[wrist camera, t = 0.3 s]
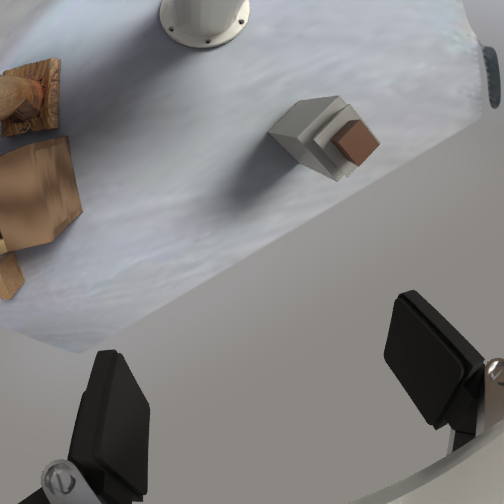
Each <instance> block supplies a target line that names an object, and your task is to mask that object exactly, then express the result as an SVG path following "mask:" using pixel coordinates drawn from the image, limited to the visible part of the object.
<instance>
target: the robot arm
mask: <svg viewBox="0 0 504 504" xmlns="http://www.w3.org/2000/svg"><path fill="white" fill-rule="evenodd" d="M250 10H251V8H250V2H249V0H163V1H162V4H161V7H160V20H161V24H162V26H163V28H164V30H165V31H166V33H167V34H168V35H169V36H170V37H171V38H172V39H174V40H175V41H177V42H178V43H181V44H183V45H185V46H189V47H194V48H211V47H215V46H219V45H222V44H224V43H227V42H229V41H230V40H232V39H234V38H235V37H236V36H237V35H239V34H240V33H241V31H242V30H243V29H244V28H245V26H246V24H247V22H248V19H249V17H250ZM239 23H242V25H240V24H239ZM172 29H173V30H174V31H172V32H171V31H170V30H172ZM207 41H209V42H210V43H209V44H206V42H207ZM384 359H385V361H386V363H387V364H388V366H389V367H390V369H391V370H392V371H393V373H394V374H395V376H396V377H397V379H398V380H399V382H400V383H401V384H402V386H403V387H404V389H405V390H406V392H407V393H408V395H409V396H410V398H411V399H412V401H413V402H414V404H415V405H416V407H417V408H418V410H419V411H420V413H421V414H422V416H423V417H424V419H425V420H426V422H427V423H428V424H429V425H433V427H434V428H435V430H437V429H439V428H441V427H443V426H444V425H446V424H447V423H449V425H450V427H451V431H450V437H449V444H448V450H447V455H446V457H444V458H442V459H441V460H439V461H438V462H436V463H434V464H432V465H430V466H429V467H427V468H425V469H423V470H421V471H419V472H417V473H415V474H414V475H412V476H410V477H408V478H406V479H404V480H401V481H399V482H398V483H395V484H393V485H391V486H388V487H386V488H384V489H382V490H379V491H377V492H375V493H372V494H370V495H367V496H365V497H362V498H360V499H357V500H354V501H352V502H349V503H346V504H504V359H502V358H494V359H491V360H490V361H489V362H487V364H486V366H485V364H484V363H483V362H484V360H485V359H484V358H483V357H482V356H481V354H480V353H479V352H478V351H477V350H476V349H475V348H474V347H473V346H472V345H471V344H470V343H469V342H468V341H467V340H466V339H465V338H464V337H463V336H462V335H461V334H460V333H459V332H458V331H457V330H456V329H455V328H454V327H453V326H452V325H451V324H450V323H449V322H448V321H447V320H446V319H445V318H444V317H443V316H442V315H441V314H440V313H439V312H438V311H437V310H436V309H435V308H434V307H433V306H432V305H431V304H429V303H428V302H427V301H426V300H425V299H424V298H423V297H422V296H421V295H420V294H419V293H418V292H417V291H415V290H411V291H407V292H404V293H401V294H399V296H398V298H397V299H396V300H395V302H394V307H393V313H392V318H391V323H390V328H389V333H388V337H387V342H386V346H385V350H384ZM149 421H150V407H149V403H148V402H147V400H146V398H145V396H144V394H143V393H142V391H141V389H140V387H139V385H138V384H137V382H136V380H135V378H134V376H133V374H132V372H131V371H130V369H129V367H128V365H127V363H126V361H125V359H124V357H123V355H122V354H121V353H117V351H116V350H104V351H98V353H97V355H96V358H95V361H94V365H93V368H92V371H91V375H90V378H89V382H88V385H87V389H86V391H85V392H84V393H83V395H82V398H81V402H80V406H79V410H78V414H77V418H76V422H75V426H74V431H73V435H72V439H71V444H70V449H69V454H68V459H67V460H63V459H58V460H54V461H52V462H50V463H49V464H48V465H46V467H45V468H44V470H43V471H42V475H41V485H42V487H41V488H40V489H38V490H37V491H36V492H34V493H33V494H31V495H30V496H29V497H27V498H26V499H24V500H23V501H21V502H20V503H18V504H132V501H135V502H143V495H146V494H147V487H148V486H147V485H148V482H147V481H148V480H147V479H148V476H147V475H148V440H149Z"/></svg>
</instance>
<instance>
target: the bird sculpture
mask: <svg viewBox="0 0 504 504" xmlns="http://www.w3.org/2000/svg"><path fill="white" fill-rule="evenodd" d="M60 64H61V60H58V59H54V58H53V59H47V60H45V61H44V60H43V61H40V62H36V63H33V64H32V63H31V64H29V65H24V66H21V67H18V69H17V68H14V69H11V70H7V71H4V72H3V75H0V121H2V122H1V123H2V125H1V126H2V138H3V137H6V136H11V135H15V134H16V135H17V134H22V133H26V132H28V131H27V130H28V129H29V128H31V126H32V128H31V129H33V130H31V131H35V130H36V131H40V130H42V129H43V130H47V129H52V128H58V127H59V126H58V122H59V121H58V119H59V117H58V115H59V113H58V112H59V106H58V105H59V101H58V100H59V83H60V79H59V78H60ZM31 70H32V71H31ZM31 72H32V74H31ZM11 73H12V74H11ZM27 75H28V76H27ZM31 75H32V77H30V76H31ZM42 77H44V78H42ZM40 79H42V80H43V81H40ZM38 81H39V82H38ZM42 86H44V87H45V88H42ZM44 98H45V100H44ZM43 100H44V102H43ZM42 102H43V103H44V105H43V103H42ZM37 113H38V115H36V114H37ZM35 115H36V116H35ZM36 118H37V120H36ZM27 120H28V121H27ZM30 121H31V122H30ZM27 122H28V123H27ZM29 122H30V123H29ZM42 123H43V124H42ZM27 124H29V126H28V127H27ZM30 124H31V125H30ZM25 127H26V128H27V130H26V129H25ZM22 128H24V129H25V131H24V130H23V129H22ZM21 130H22V131H21ZM19 131H20V133H19Z"/></svg>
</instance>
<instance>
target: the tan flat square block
mask: <svg viewBox="0 0 504 504" xmlns="http://www.w3.org/2000/svg"><path fill="white" fill-rule="evenodd" d="M24 282H25V280H24V277H23V275H22V272H21V270H20V267H19V265H18V262H17V259H16V256H15V254H14V252H11V253H6V254H4V255H3V256H2V257H1V258H0V296H1V298H2V300H4V299H11V298H12V297H13V296H14V294H15V293H16V292H17V291H18V289H19V288H20V287H21V286H22V284H23V283H24Z"/></svg>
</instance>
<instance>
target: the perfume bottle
mask: <svg viewBox="0 0 504 504" xmlns="http://www.w3.org/2000/svg"><path fill="white" fill-rule="evenodd" d="M268 133H269V134H270V135H271V136H272V137H273V138H274V139H275V140H276V141H277V142H278V143H279V144H280V145H281V146H282V147H283V148H284V149H286V150H287V151H288V152H289V153H290V154H291V155H292V156H293V157H294V159H295V160H296V161H297V162H298V163H300V164H302V165H304V166H306V167H308V168H310V169H313V170H315V171H317V172H319V173H321V174H323V175H325V176H327V177H329V178H331V179H333V180H335V181H337V182H338V181H339V180H340V179H341V178H342V177H343V176H344V175H346V177H348V176H349V175H350V174H351V173H352V172H353V171H354V170H355V169H356V168H357V167H359V166H360V165H361V164H362V163H363V162H364V161H365V160H366V159H367V158H368V156H369V155H370V154H371V153H372V152H373V151H374V150H375V149H376V148H377V147H378V146H379V145H380V142H379V141H378V139H377V138H376V137H375V135H374V134H373V133H372V131H371V130H370V129H369V128H368V126H367V125H366V124H365V122H364V121H363V120H362V119H361V117H360V116H359V115H358V114H357V112H356V111H355V110H354V109H353V108H352V106H351V105H350V104H348V105H347V104H346V103H345V102H344V100H343V99H342V98H341V97H340V96H332V97H323V98H316V99H308V100H301V101H298V102H297V103H296V104H295V105H294V106H293V107H292V108H291V109H290V110H289V111H288V112H287V113H286V114H285V115H284V116H283V117H282V118H281V119H280V120H279V121H278V122H277V123H276V124H275V125H274V126H273V127H272V128H271V129H270V130H269V131H268Z"/></svg>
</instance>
